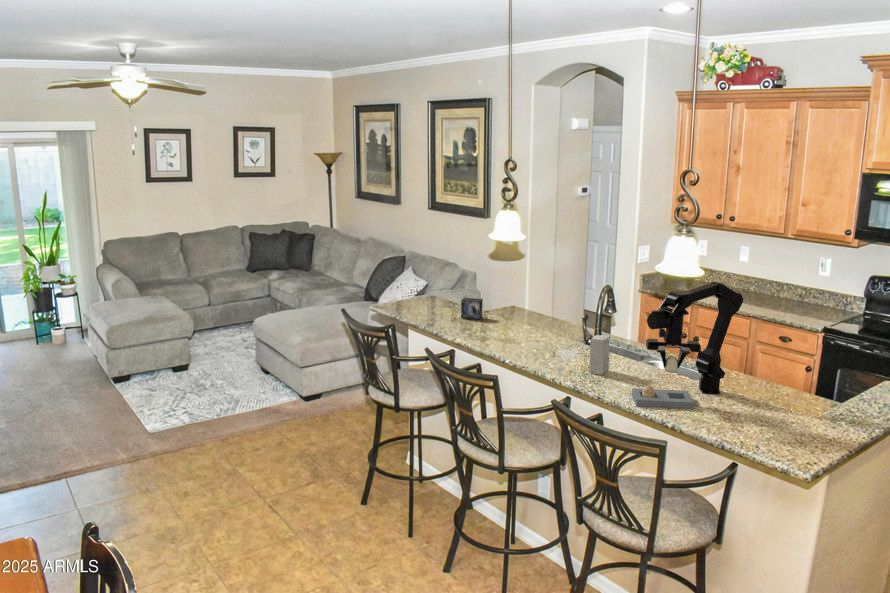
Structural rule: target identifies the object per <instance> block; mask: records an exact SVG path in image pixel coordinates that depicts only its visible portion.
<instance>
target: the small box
mask: <svg viewBox="0 0 890 593" xmlns="http://www.w3.org/2000/svg"><path fill="white" fill-rule="evenodd" d="M460 306H461V307H460V308H461V309H460V310H461V311H460V317H461V318H465V319H464V320H471V319H475V320H474V321H480V320H482V319H483V298H473V297H463V298H462V299H461V305H460ZM461 318H460V319H461Z"/></svg>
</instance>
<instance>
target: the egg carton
mask: <svg viewBox="0 0 890 593" xmlns="http://www.w3.org/2000/svg"><path fill="white" fill-rule="evenodd" d="M631 396H632V399H633V401H634V404H635V407H642V408H643V407H644V408H661V409H662V408H664V409H685V410H695V401H694V400H693V398H692V397H691V394H690V393H689V391H688V390H681V389H680V390H675V389H655V388H654V387H653V386H652V385H646V386H644V387H643V388H636V387H635V388H632V389H631Z"/></svg>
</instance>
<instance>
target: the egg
mask: <svg viewBox="0 0 890 593" xmlns="http://www.w3.org/2000/svg"><path fill="white" fill-rule="evenodd" d="M678 369H679V368H678V358H677V357H676V356H675V355H669V356H666V367H665V368H664V372H666V373H670V374H676V373H677V372H678Z"/></svg>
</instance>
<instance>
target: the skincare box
mask: <svg viewBox="0 0 890 593" xmlns="http://www.w3.org/2000/svg"><path fill="white" fill-rule="evenodd" d="M610 338H611V337H610V336H609V335H604V334H603V335H602V334H596V335H593V337H592V338H590V345H589V347H590V348H589V370H588V371H589V374H595V375H599V376H603V375H604V374H605V373H607V372H608V371H609V367H610V366H609V364H610V363H609V361H610Z"/></svg>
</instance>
